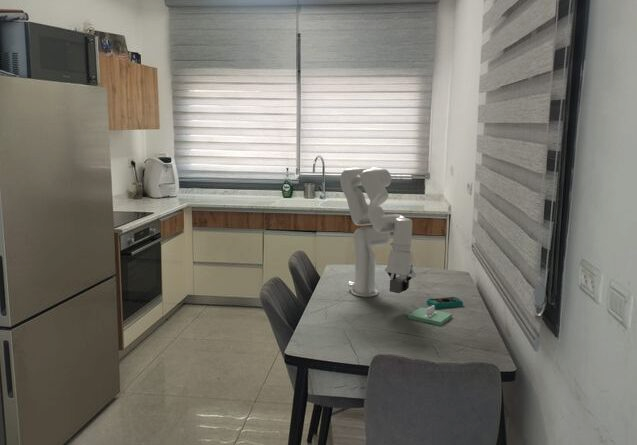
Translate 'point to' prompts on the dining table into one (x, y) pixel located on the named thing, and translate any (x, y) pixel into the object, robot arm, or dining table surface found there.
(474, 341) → the dining table surface
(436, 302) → the digital multimeter
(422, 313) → the board
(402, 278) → the block
